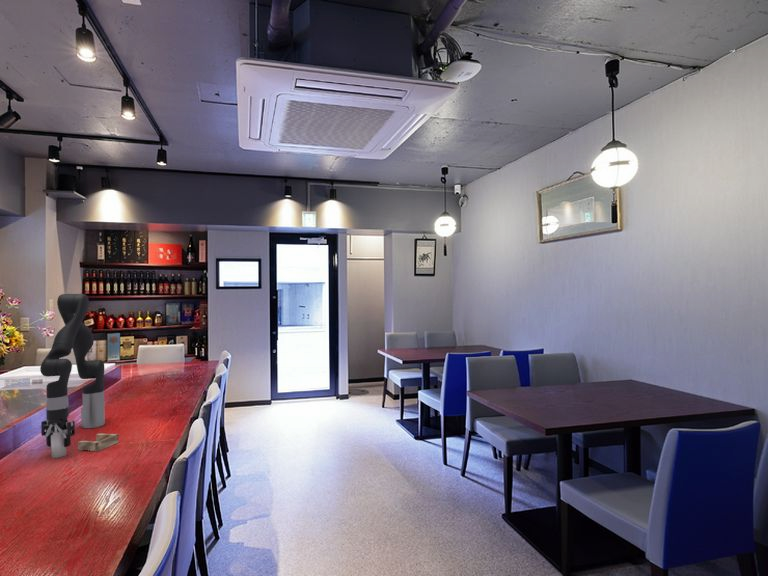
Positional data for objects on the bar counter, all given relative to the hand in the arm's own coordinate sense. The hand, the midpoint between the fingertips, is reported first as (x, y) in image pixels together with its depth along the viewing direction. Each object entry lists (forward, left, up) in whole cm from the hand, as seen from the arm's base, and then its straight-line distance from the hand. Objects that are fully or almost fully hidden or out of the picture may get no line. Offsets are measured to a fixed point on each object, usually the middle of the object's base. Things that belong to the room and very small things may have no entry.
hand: (58, 446), depth 185 cm
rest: (+8, +12, -4) cm, 15 cm away
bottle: (0, 0, -4) cm, 4 cm away
